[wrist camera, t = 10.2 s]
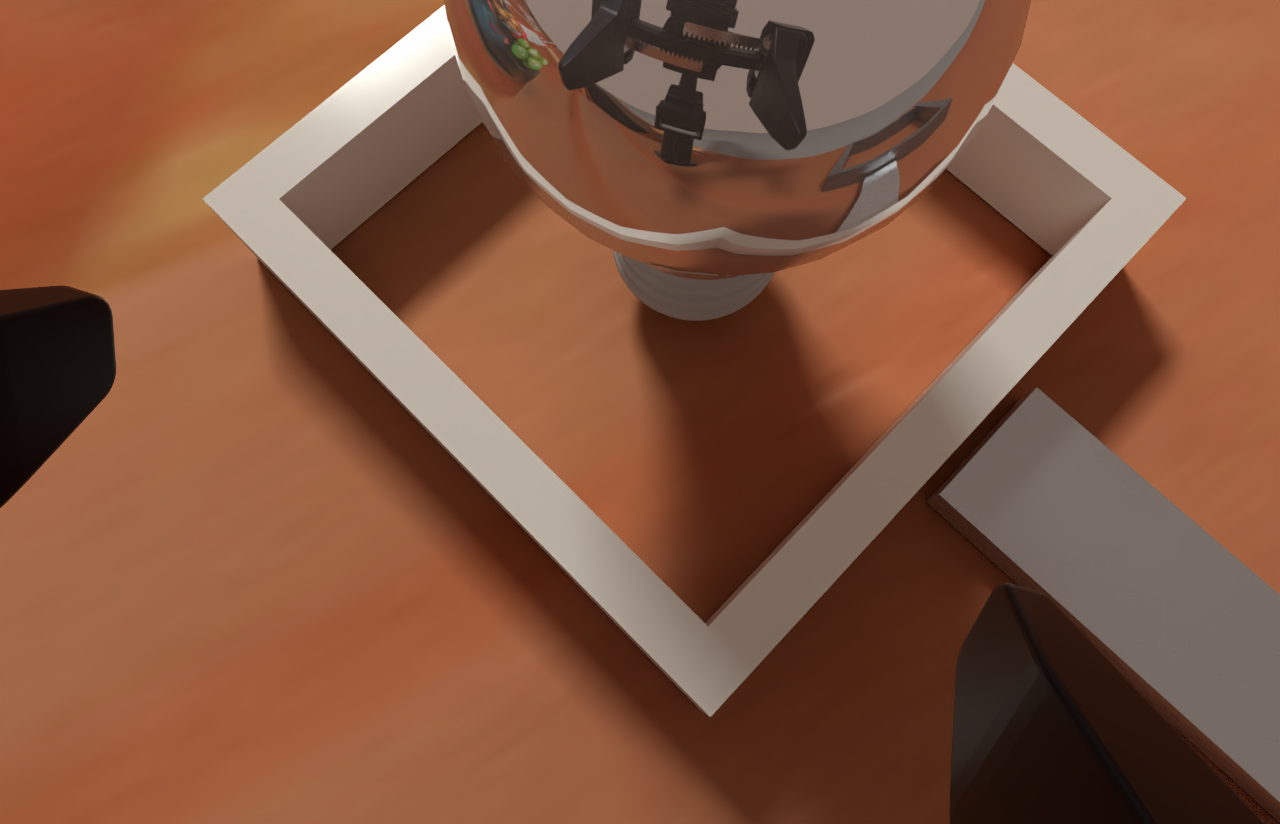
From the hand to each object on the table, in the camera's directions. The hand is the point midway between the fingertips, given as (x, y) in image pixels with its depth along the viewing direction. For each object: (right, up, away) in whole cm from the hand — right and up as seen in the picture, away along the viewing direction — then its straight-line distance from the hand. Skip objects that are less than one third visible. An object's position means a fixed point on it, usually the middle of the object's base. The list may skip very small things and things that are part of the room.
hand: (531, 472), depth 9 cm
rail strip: (+11, -3, +9) cm, 14 cm away
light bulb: (+2, +4, +11) cm, 11 cm away
